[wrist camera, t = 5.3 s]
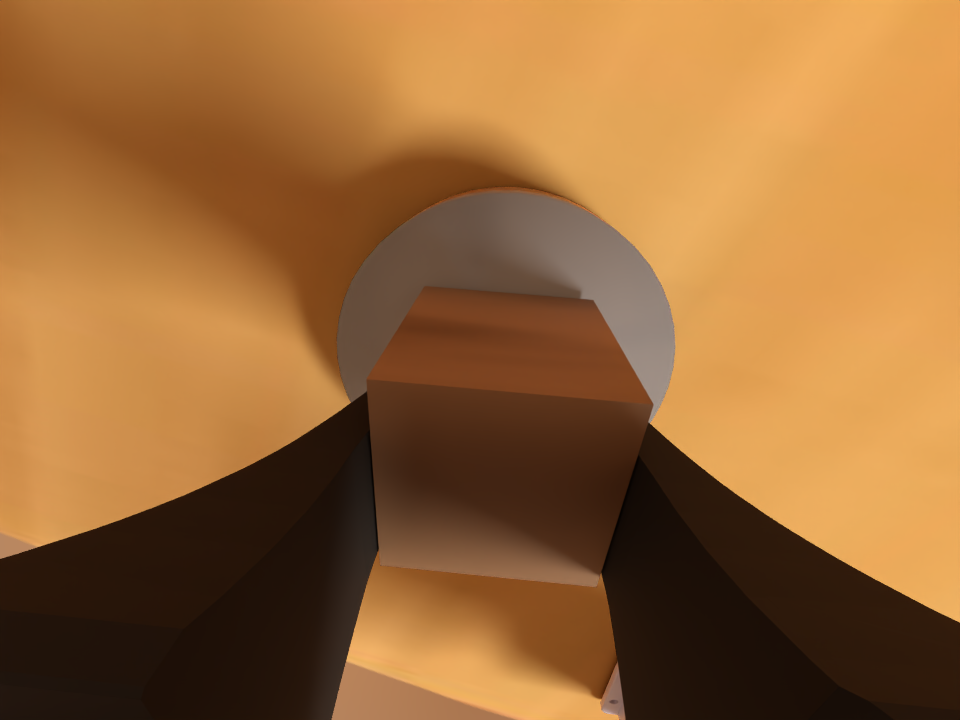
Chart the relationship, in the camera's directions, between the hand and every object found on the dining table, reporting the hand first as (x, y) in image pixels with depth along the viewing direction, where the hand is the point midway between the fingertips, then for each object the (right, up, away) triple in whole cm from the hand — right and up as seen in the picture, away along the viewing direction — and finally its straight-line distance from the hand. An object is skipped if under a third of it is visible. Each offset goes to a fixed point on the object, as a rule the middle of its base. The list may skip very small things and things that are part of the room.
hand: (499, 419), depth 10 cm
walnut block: (0, +1, +2) cm, 2 cm away
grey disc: (0, +2, +4) cm, 4 cm away
